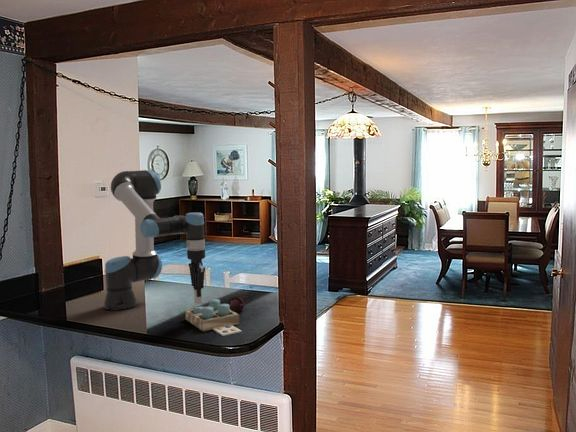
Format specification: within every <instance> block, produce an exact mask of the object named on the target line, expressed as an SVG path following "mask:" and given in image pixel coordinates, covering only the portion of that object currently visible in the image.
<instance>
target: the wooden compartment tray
mask: <svg viewBox="0 0 576 432" xmlns="http://www.w3.org/2000/svg"><path fill="white" fill-rule="evenodd" d="M206 307H209V305H208V306H207V305H206ZM184 311H185V312H184V313H185V320H186V321H187V322H189V323H190V324H192V325H193V326H194V327H196V328H198V330H200V331H202V332H207V331H212V330H213V328H215V327H220V326H225V325H230V324H231V325H233V326H235V325H240V314H239V313H238V312H234V311H233V310H231V309H230V315H226V316H221V317H220V316H218V310H216V311H214V318H211V319H206V320H203V319H202V313H200V314H194V312H193V308H192V309H191V308H190V309H185V310H184Z"/></svg>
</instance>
